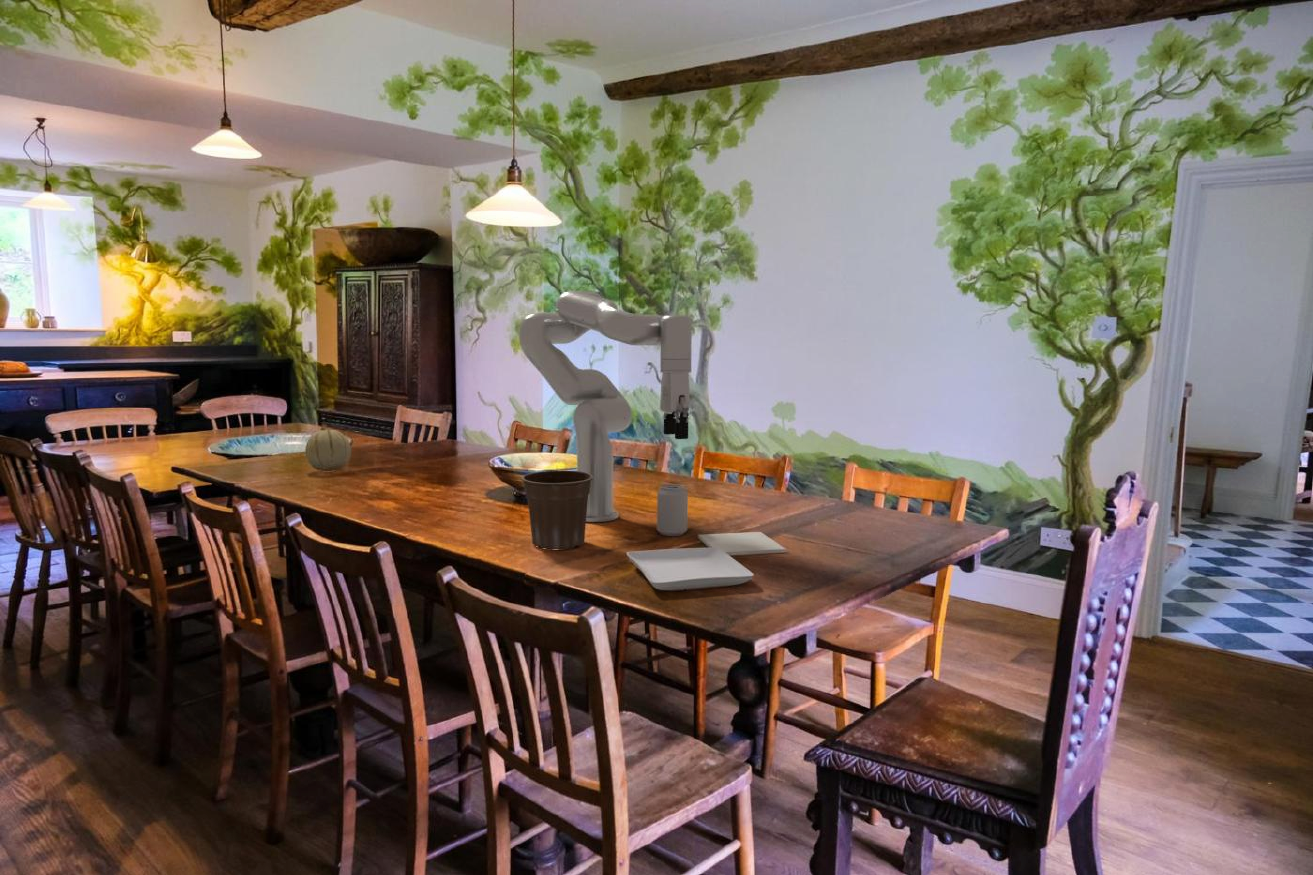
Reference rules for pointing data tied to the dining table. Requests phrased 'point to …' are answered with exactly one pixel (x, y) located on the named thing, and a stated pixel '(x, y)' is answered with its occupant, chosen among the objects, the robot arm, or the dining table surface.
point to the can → (672, 509)
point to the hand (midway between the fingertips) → (675, 436)
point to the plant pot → (557, 507)
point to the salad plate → (689, 568)
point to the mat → (742, 543)
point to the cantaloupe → (328, 450)
